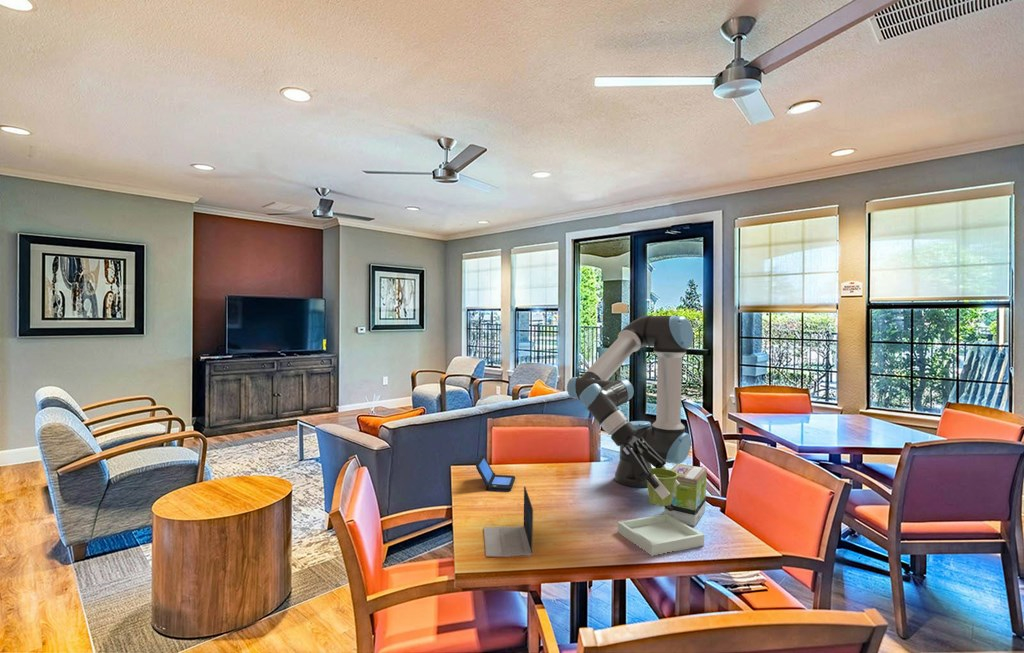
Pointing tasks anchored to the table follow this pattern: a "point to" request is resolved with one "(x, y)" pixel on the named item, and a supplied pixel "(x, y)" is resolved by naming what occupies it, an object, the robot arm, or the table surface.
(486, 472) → the handheld game console
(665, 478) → the plant pot
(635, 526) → the sage tray
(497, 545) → the laptop
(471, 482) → the table surface
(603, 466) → the table surface
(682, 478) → the tea box
